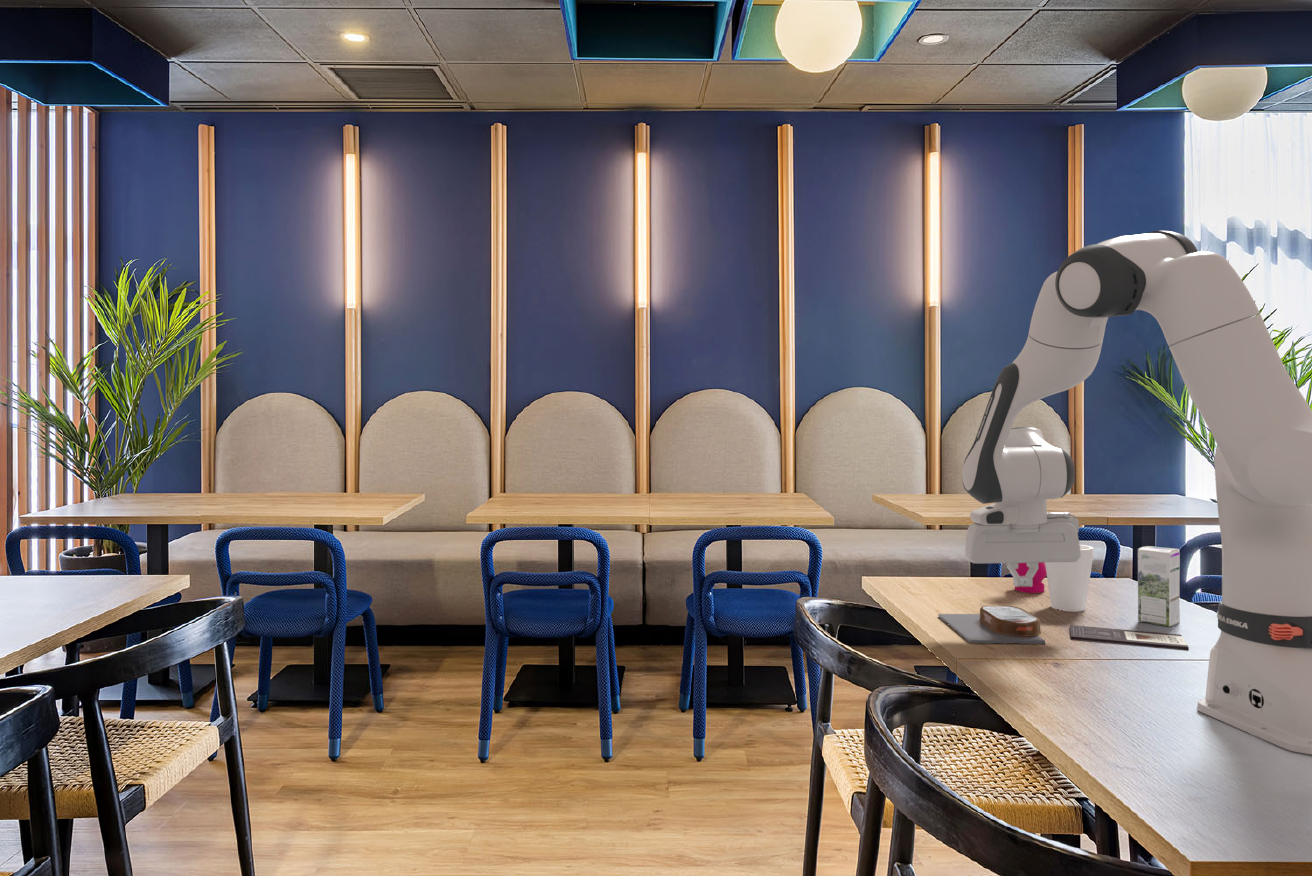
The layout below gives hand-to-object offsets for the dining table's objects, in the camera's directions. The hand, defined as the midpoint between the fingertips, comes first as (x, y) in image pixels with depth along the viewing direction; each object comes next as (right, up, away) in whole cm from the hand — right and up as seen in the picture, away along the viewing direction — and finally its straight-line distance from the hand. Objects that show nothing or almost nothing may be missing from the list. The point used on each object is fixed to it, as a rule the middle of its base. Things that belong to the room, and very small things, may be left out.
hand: (1023, 586), depth 155 cm
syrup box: (+28, -8, +4) cm, 30 cm away
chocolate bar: (+16, -9, -7) cm, 19 cm away
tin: (+2, -6, 0) cm, 6 cm away
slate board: (-6, -8, +1) cm, 11 cm away
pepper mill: (+17, -8, +35) cm, 40 cm away
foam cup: (+17, -8, +17) cm, 26 cm away
